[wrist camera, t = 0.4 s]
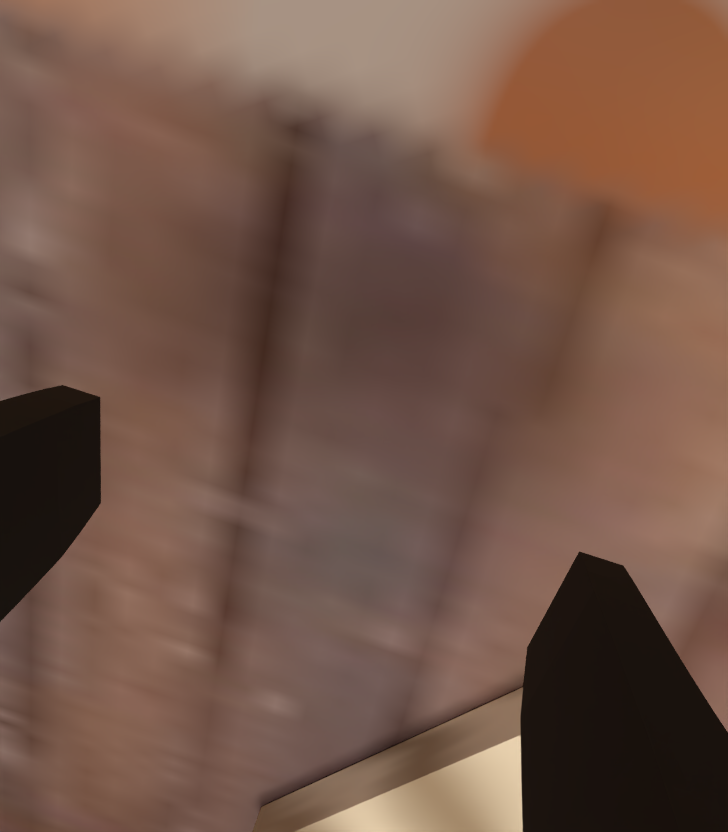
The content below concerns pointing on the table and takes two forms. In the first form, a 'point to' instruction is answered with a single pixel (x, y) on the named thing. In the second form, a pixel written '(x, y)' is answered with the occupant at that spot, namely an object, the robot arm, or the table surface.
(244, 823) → the table surface
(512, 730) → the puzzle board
